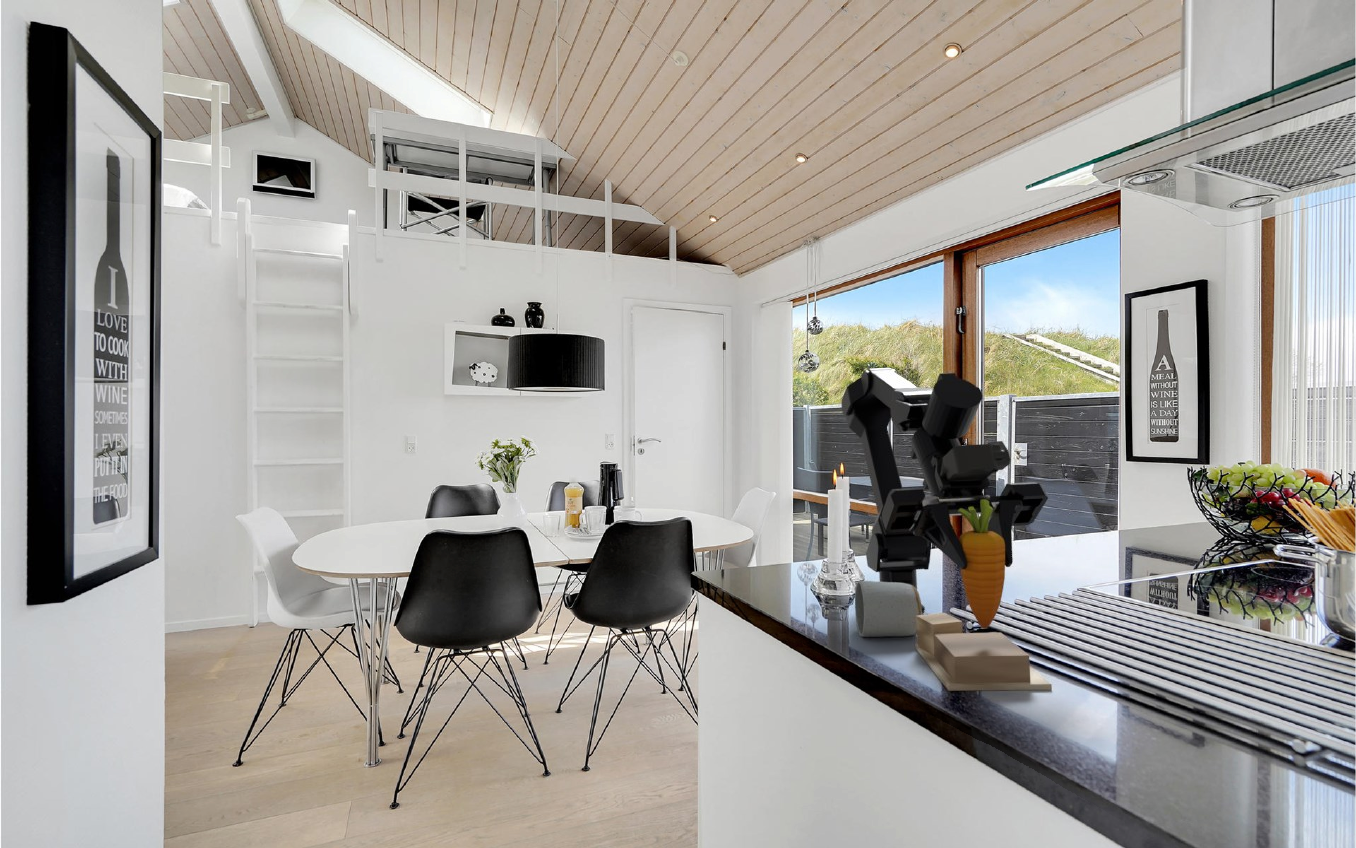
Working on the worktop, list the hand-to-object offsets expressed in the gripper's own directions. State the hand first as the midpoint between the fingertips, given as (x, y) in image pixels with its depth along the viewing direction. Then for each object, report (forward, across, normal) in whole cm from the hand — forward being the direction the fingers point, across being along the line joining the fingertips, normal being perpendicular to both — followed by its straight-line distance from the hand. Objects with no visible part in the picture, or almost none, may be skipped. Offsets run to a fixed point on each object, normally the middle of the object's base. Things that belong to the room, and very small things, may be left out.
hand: (987, 566), depth 76 cm
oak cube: (+3, -2, +15) cm, 15 cm away
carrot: (+5, 0, +6) cm, 8 cm away
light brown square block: (+8, -1, +10) cm, 13 cm away
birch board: (+7, 0, +12) cm, 14 cm away
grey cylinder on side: (-4, -6, +23) cm, 24 cm away
